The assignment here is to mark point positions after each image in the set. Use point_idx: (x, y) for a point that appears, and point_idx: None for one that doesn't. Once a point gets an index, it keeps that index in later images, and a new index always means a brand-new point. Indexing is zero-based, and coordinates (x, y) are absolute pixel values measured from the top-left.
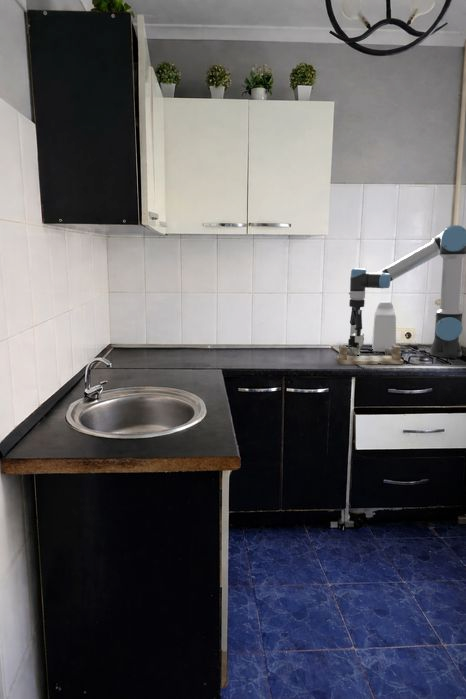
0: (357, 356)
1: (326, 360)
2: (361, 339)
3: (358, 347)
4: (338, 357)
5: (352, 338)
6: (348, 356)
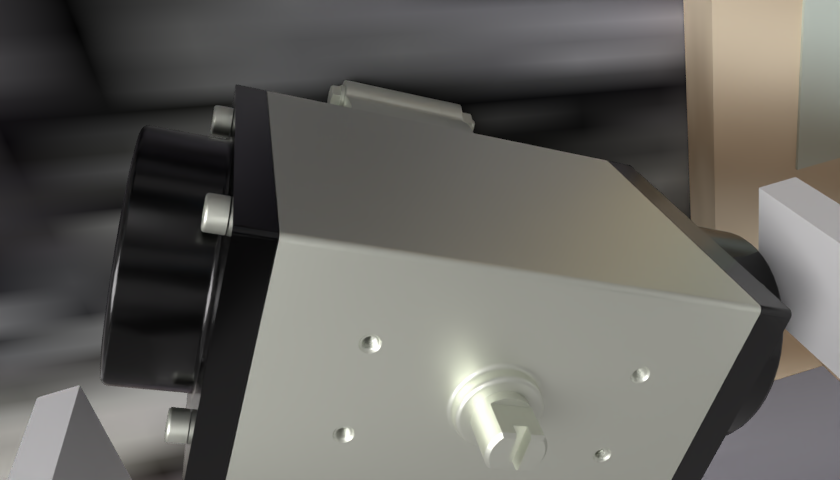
0: (765, 112)
1: (777, 454)
2: (458, 194)
3: (628, 168)
4: (815, 362)
5: (749, 411)
6: (757, 249)
